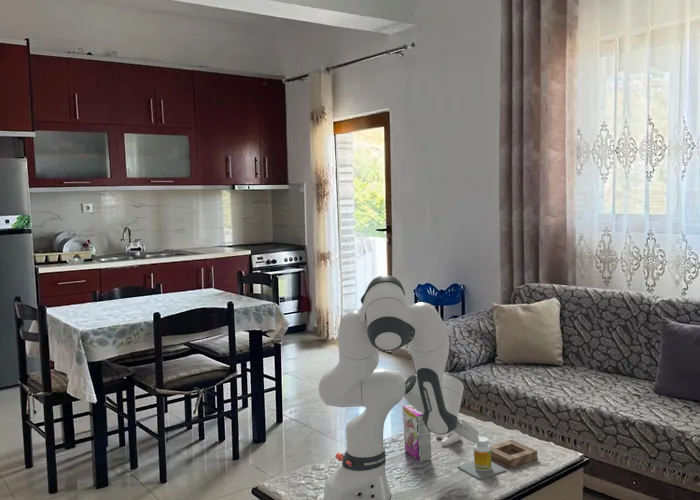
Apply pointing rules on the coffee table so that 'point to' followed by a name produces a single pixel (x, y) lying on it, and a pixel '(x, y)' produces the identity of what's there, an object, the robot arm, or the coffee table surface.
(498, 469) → the rubber mat
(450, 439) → the sitting furry creature
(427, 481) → the coffee table surface
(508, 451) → the pocket block
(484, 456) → the supplement bottle
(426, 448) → the candy bar box
